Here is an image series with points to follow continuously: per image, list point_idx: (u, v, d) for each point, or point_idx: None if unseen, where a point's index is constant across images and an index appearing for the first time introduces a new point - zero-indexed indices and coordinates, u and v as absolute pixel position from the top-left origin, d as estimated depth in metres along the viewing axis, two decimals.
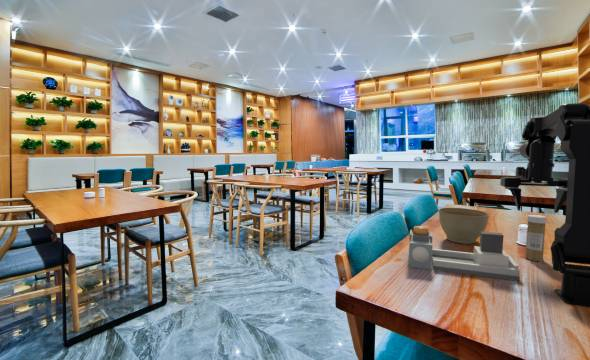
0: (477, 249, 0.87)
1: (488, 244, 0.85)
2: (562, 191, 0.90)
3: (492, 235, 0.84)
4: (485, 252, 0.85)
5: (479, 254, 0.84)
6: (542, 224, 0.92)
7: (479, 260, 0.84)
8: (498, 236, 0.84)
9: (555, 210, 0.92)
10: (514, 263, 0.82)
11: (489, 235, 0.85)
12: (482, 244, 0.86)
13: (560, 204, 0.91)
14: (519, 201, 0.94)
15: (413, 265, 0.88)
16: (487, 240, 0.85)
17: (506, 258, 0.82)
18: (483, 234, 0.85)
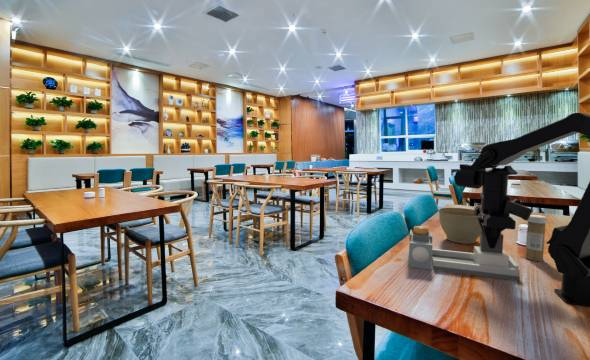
0: (477, 249, 0.87)
1: (488, 244, 0.85)
2: None
3: None
4: (485, 252, 0.85)
5: (479, 254, 0.84)
6: (543, 224, 0.92)
7: (479, 260, 0.84)
8: None
9: None
10: (514, 263, 0.82)
11: None
12: (482, 244, 0.86)
13: (486, 238, 0.84)
14: None
15: (413, 265, 0.88)
16: None
17: (506, 258, 0.82)
18: (483, 234, 0.85)
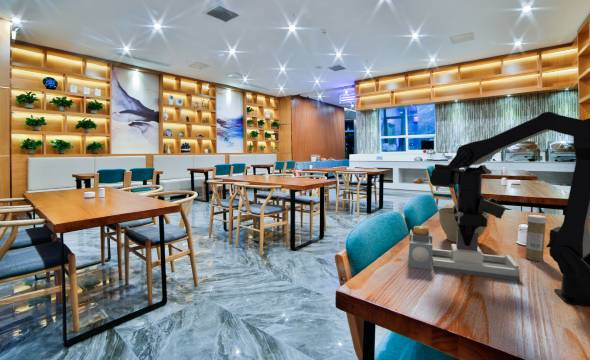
0: (454, 247, 0.90)
1: (463, 241, 0.87)
2: None
3: None
4: (461, 249, 0.87)
5: (455, 251, 0.86)
6: (542, 224, 0.92)
7: (455, 257, 0.86)
8: None
9: None
10: (514, 263, 0.82)
11: None
12: (458, 242, 0.88)
13: None
14: None
15: (413, 265, 0.88)
16: None
17: (480, 255, 0.84)
18: (459, 232, 0.87)
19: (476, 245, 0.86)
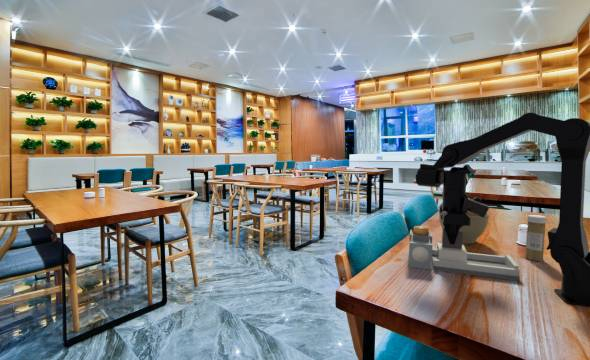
0: (439, 245, 0.91)
1: (448, 240, 0.89)
2: None
3: None
4: (446, 248, 0.88)
5: (439, 250, 0.88)
6: (542, 224, 0.92)
7: (440, 256, 0.88)
8: (458, 232, 0.88)
9: None
10: (514, 263, 0.82)
11: None
12: (443, 240, 0.89)
13: None
14: None
15: (413, 265, 0.88)
16: None
17: (464, 253, 0.85)
18: (444, 231, 0.89)
19: (461, 243, 0.87)
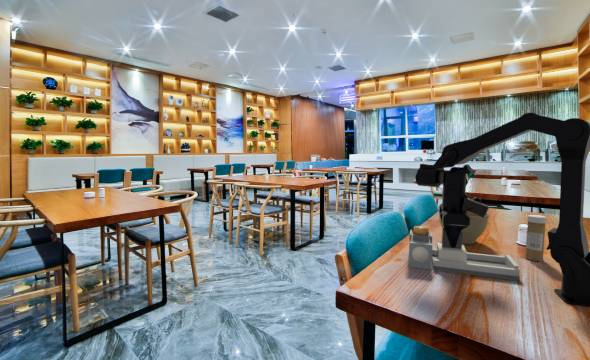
0: (439, 245, 0.91)
1: (448, 240, 0.89)
2: None
3: None
4: (445, 248, 0.88)
5: (439, 250, 0.88)
6: (542, 224, 0.92)
7: (439, 256, 0.88)
8: None
9: None
10: (514, 263, 0.82)
11: None
12: (443, 240, 0.89)
13: None
14: None
15: (413, 265, 0.88)
16: None
17: (464, 253, 0.85)
18: (444, 231, 0.89)
19: (460, 243, 0.87)
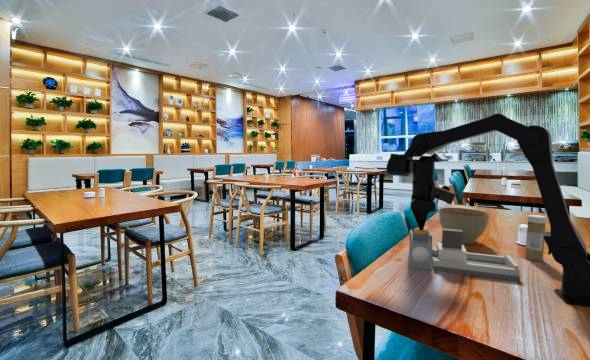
0: (439, 245, 0.91)
1: (448, 240, 0.89)
2: None
3: (452, 232, 0.88)
4: (445, 248, 0.88)
5: (439, 250, 0.88)
6: (542, 224, 0.92)
7: (439, 256, 0.88)
8: (458, 232, 0.88)
9: None
10: (514, 263, 0.82)
11: (449, 232, 0.88)
12: (443, 240, 0.89)
13: (416, 220, 0.92)
14: None
15: (413, 265, 0.88)
16: (447, 236, 0.89)
17: (464, 253, 0.85)
18: (444, 231, 0.89)
19: (460, 243, 0.87)
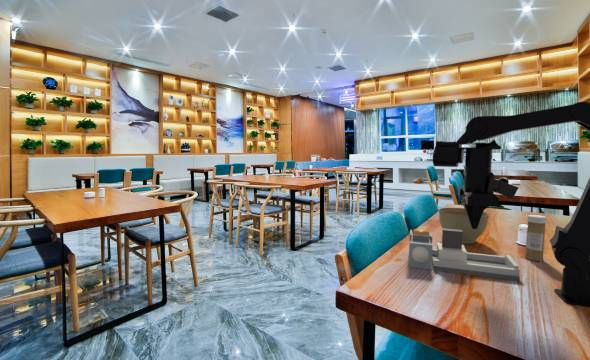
0: (439, 245, 0.91)
1: (448, 240, 0.89)
2: None
3: (452, 232, 0.88)
4: (445, 248, 0.88)
5: (439, 250, 0.88)
6: (542, 224, 0.92)
7: (439, 256, 0.88)
8: (458, 232, 0.88)
9: None
10: (514, 263, 0.82)
11: (449, 232, 0.88)
12: (443, 240, 0.89)
13: (468, 218, 0.80)
14: (467, 216, 0.81)
15: (413, 265, 0.88)
16: (447, 236, 0.89)
17: (464, 253, 0.85)
18: (444, 231, 0.89)
19: (460, 243, 0.87)
